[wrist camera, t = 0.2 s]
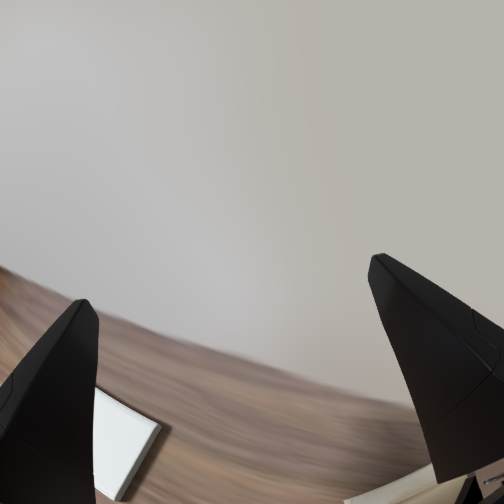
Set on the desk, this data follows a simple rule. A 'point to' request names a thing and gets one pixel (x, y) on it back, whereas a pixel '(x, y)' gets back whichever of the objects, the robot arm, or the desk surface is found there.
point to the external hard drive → (118, 444)
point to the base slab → (396, 488)
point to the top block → (434, 493)
